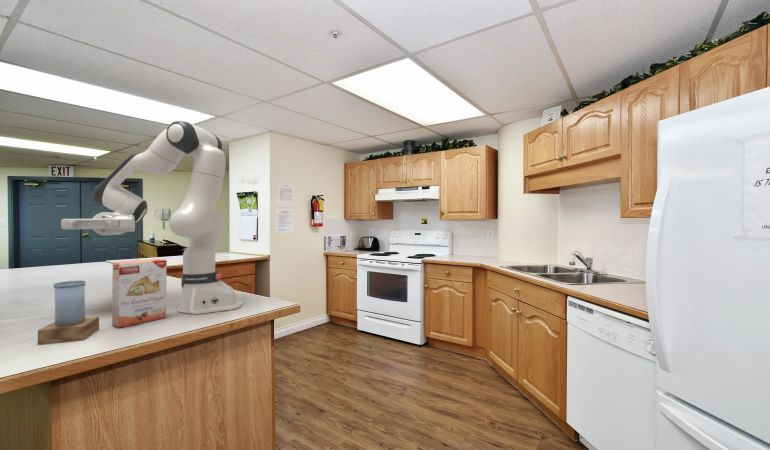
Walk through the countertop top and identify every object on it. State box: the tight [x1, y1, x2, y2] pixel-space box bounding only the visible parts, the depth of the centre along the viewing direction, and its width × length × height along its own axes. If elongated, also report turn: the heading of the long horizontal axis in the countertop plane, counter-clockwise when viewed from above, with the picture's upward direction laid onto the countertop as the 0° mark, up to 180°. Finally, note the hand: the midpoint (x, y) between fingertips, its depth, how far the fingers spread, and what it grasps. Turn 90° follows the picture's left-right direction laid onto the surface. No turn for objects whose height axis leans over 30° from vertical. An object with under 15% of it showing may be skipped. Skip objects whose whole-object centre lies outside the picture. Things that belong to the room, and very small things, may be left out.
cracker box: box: [111, 258, 167, 329], centre depth 111 cm, size 14×6×21 cm, turn 148°
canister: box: [53, 280, 87, 327], centre depth 97 cm, size 7×7×12 cm
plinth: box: [37, 316, 100, 345], centre depth 97 cm, size 10×10×4 cm
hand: (90, 223), depth 112 cm, fingers open, 8 cm apart
